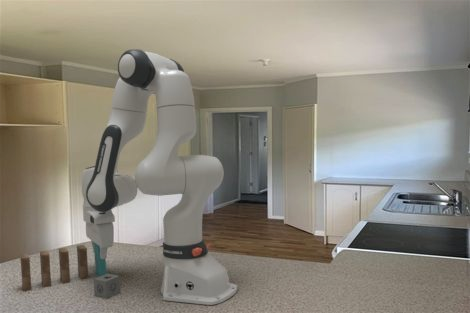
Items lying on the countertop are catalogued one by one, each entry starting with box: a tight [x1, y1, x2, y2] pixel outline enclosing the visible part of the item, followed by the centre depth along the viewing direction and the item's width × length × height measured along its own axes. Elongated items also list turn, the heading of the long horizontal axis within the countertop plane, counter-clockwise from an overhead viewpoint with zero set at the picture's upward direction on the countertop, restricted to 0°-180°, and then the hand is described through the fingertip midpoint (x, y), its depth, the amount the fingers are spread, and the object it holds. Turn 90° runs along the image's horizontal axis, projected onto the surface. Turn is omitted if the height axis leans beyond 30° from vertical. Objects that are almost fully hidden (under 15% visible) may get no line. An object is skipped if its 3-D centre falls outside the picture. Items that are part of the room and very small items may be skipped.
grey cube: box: [93, 272, 121, 300], centre depth 118 cm, size 5×5×5 cm
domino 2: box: [39, 250, 52, 288], centre depth 128 cm, size 2×5×10 cm, turn 31°
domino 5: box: [93, 243, 107, 277], centre depth 136 cm, size 2×5×10 cm, turn 34°
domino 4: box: [76, 244, 89, 281], centre depth 133 cm, size 2×5×10 cm, turn 30°
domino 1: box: [19, 253, 32, 292], centre depth 125 cm, size 2×5×10 cm, turn 30°
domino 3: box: [58, 247, 71, 284], centre depth 130 cm, size 2×5×10 cm, turn 30°
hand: (99, 255), depth 136 cm, fingers open, 7 cm apart
